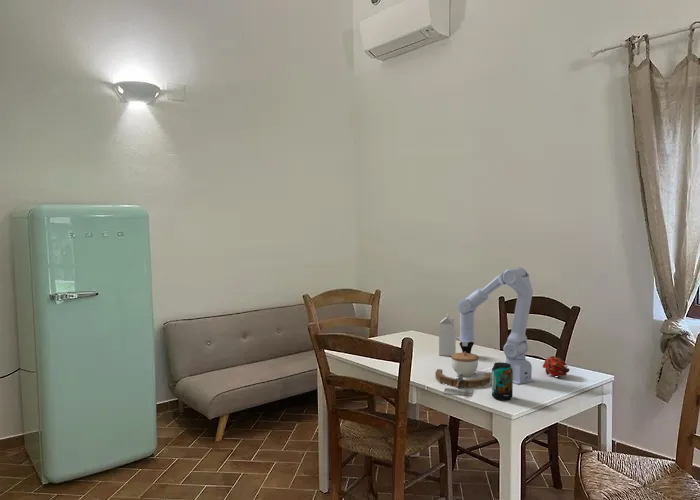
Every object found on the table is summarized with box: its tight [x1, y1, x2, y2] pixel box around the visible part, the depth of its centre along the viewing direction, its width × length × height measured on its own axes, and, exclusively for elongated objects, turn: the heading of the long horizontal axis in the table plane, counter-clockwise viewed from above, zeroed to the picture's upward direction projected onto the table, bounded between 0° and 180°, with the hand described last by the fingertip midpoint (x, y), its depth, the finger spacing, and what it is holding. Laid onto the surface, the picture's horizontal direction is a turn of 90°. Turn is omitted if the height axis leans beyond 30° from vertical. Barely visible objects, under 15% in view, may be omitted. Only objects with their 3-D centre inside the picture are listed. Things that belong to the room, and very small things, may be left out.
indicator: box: [455, 374, 464, 388], centre depth 194 cm, size 15×2×2 cm, turn 162°
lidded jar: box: [451, 352, 479, 378], centre depth 213 cm, size 11×11×9 cm
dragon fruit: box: [542, 355, 571, 377], centre depth 210 cm, size 8×8×12 cm
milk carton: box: [438, 313, 457, 357], centre depth 246 cm, size 7×7×19 cm
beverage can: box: [491, 361, 513, 401], centre depth 184 cm, size 7×7×12 cm
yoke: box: [434, 368, 492, 397], centre depth 199 cm, size 23×21×2 cm
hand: (466, 359), depth 220 cm, fingers closed
